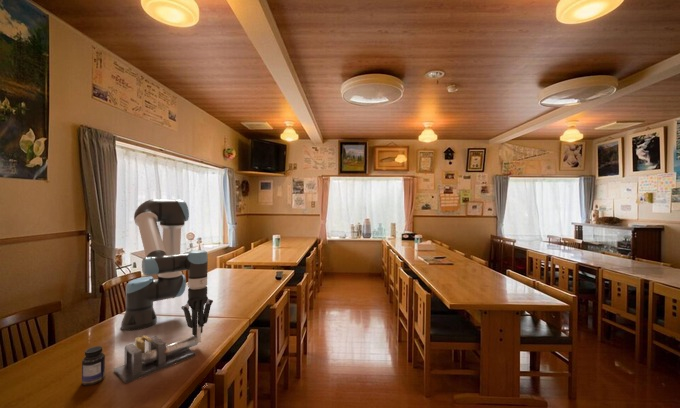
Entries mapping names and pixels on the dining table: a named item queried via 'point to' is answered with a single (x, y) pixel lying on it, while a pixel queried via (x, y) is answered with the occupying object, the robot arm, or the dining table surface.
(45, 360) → the dining table surface
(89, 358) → the pill bottle
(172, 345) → the air tube
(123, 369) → the grey mechanical fixture
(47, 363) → the dining table surface
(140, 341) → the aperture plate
